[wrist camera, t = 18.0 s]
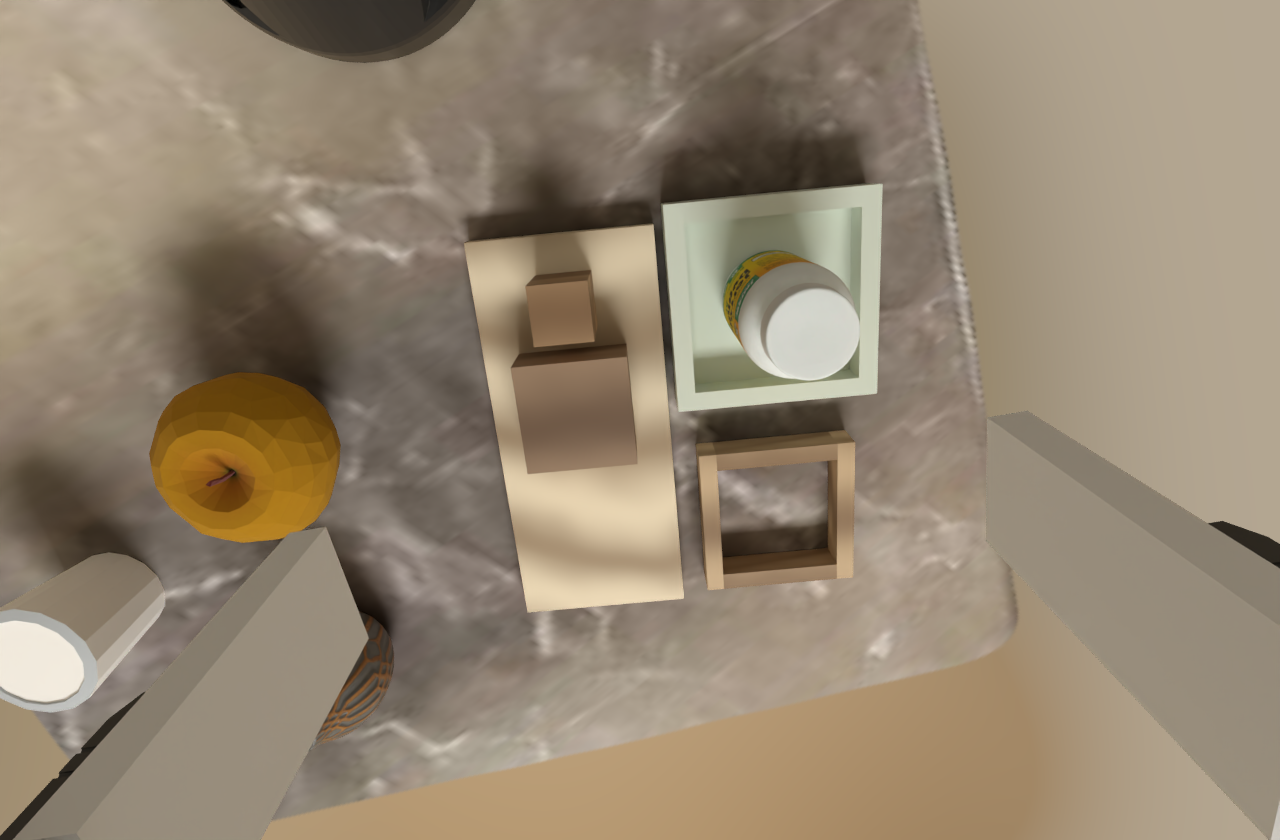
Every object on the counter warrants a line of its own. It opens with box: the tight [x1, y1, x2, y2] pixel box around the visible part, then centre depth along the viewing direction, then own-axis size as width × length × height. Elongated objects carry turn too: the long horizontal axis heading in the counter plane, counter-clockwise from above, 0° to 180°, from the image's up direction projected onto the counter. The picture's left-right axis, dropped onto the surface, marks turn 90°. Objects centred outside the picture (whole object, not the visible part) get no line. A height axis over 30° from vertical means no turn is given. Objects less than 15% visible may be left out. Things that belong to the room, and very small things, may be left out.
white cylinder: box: [0, 552, 165, 712], centre depth 41 cm, size 7×7×7 cm
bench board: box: [464, 223, 684, 612], centre depth 38 cm, size 23×10×5 cm, turn 5°
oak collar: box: [696, 430, 855, 590], centre depth 42 cm, size 9×9×2 cm
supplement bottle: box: [722, 250, 860, 380], centre depth 33 cm, size 5×5×10 cm
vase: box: [308, 611, 394, 752], centre depth 41 cm, size 7×7×9 cm
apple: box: [149, 372, 340, 543], centre depth 36 cm, size 9×9×9 cm
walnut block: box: [511, 344, 638, 474], centre depth 37 cm, size 6×6×3 cm
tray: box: [660, 183, 882, 412], centre depth 37 cm, size 11×11×2 cm
